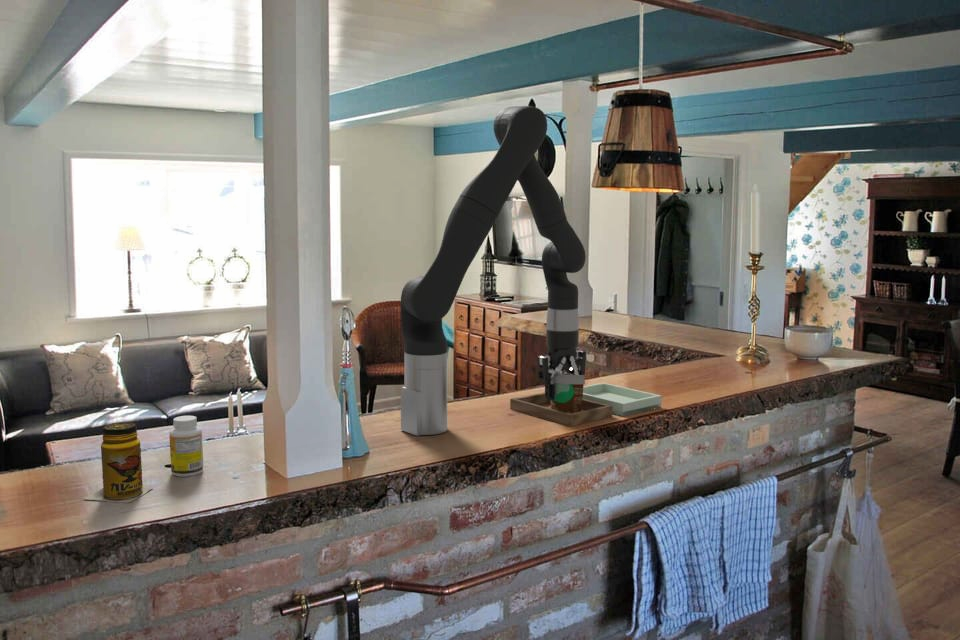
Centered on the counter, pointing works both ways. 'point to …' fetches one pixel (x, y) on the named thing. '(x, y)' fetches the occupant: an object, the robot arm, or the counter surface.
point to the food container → (568, 392)
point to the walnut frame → (533, 408)
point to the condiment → (120, 464)
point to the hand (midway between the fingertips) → (561, 396)
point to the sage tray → (621, 398)
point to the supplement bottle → (186, 447)
